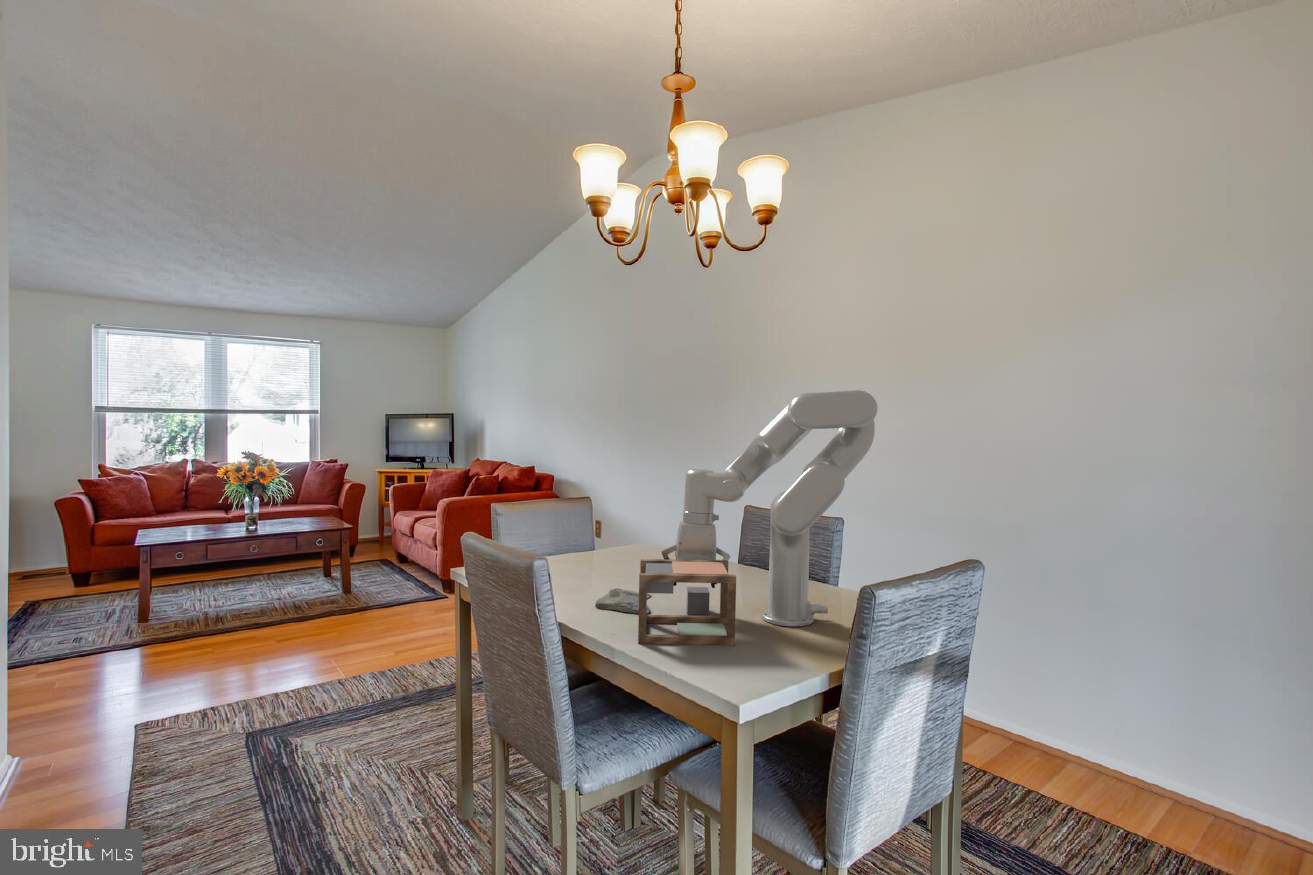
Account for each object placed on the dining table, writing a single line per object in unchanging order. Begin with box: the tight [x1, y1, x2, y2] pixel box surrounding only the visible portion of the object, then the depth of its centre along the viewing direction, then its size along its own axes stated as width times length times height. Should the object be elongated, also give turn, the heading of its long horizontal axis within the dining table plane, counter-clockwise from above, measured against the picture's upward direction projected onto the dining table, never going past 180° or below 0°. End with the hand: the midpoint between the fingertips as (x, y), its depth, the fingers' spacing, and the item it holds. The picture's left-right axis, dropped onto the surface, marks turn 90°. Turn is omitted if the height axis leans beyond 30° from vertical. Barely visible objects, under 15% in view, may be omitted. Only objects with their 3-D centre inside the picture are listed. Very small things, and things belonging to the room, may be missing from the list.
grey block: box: [685, 586, 711, 616], centre depth 163 cm, size 5×5×6 cm
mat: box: [676, 623, 727, 636], centre depth 149 cm, size 11×11×1 cm
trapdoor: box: [646, 561, 729, 595], centre depth 148 cm, size 18×12×4 cm, turn 90°
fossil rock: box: [594, 587, 653, 615], centre depth 171 cm, size 18×15×2 cm
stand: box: [637, 558, 737, 646], centre depth 148 cm, size 21×16×15 cm
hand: (693, 585), depth 164 cm, fingers open, 9 cm apart
